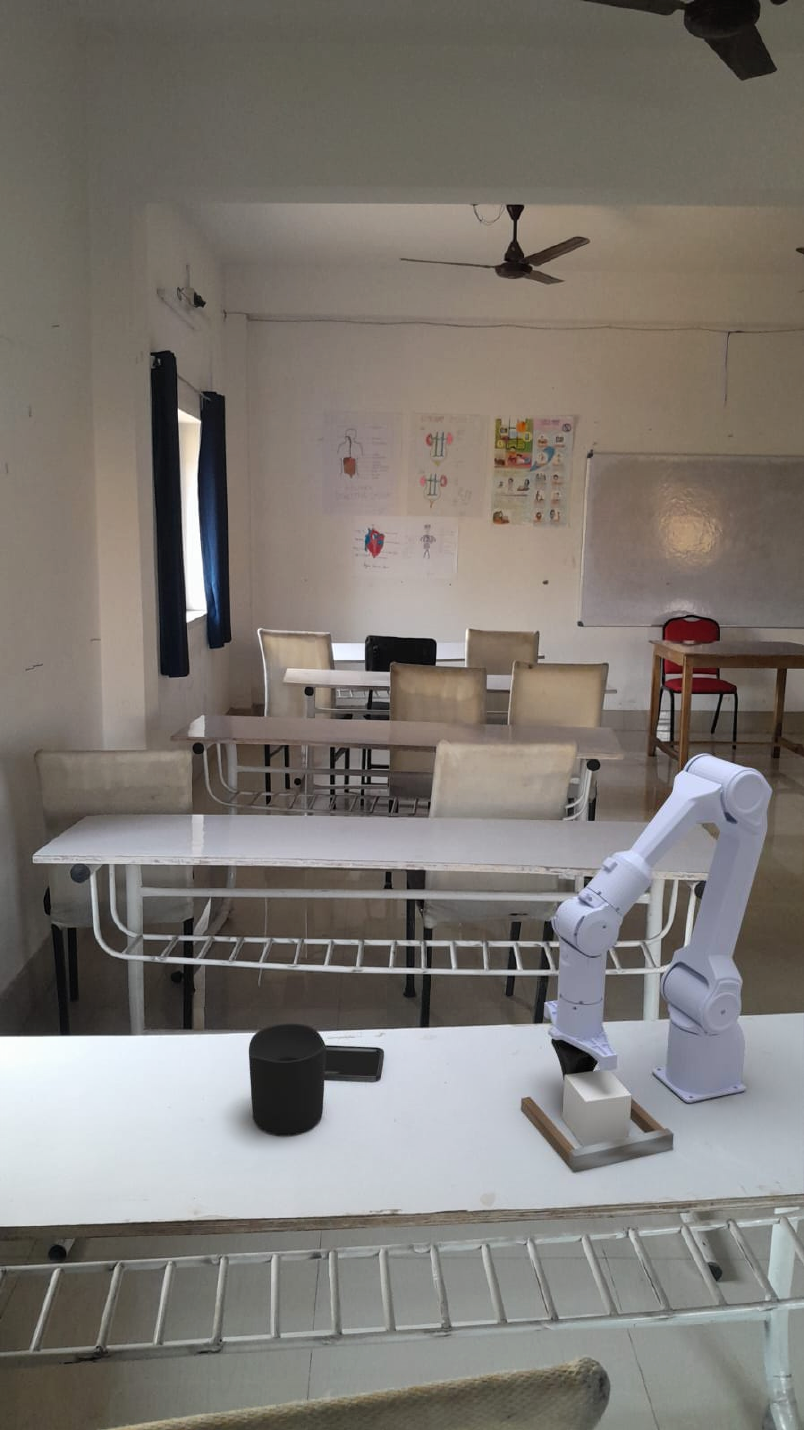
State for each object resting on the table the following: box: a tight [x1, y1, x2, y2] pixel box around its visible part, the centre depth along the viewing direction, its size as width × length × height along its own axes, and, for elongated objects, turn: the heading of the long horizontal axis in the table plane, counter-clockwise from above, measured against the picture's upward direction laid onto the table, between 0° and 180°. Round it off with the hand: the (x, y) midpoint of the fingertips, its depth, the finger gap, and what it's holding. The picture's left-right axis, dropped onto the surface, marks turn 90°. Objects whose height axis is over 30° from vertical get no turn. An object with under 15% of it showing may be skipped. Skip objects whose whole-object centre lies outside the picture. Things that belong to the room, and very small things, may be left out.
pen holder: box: [248, 1023, 327, 1137], centre depth 119 cm, size 9×9×10 cm
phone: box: [324, 1044, 385, 1083], centre depth 132 cm, size 8×1×15 cm
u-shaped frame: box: [520, 1096, 675, 1173], centre depth 119 cm, size 13×13×2 cm
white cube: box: [561, 1069, 633, 1148], centre depth 118 cm, size 6×6×6 cm
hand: (575, 1094), depth 123 cm, fingers closed
